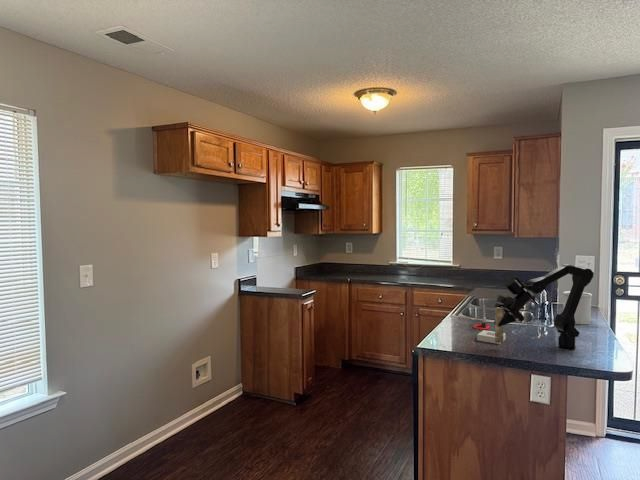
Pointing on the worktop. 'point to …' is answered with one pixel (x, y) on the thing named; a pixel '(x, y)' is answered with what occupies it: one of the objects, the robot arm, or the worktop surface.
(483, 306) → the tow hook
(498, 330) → the pin
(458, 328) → the worktop surface
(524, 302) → the robot arm
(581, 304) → the utensil holder
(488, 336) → the socket block
